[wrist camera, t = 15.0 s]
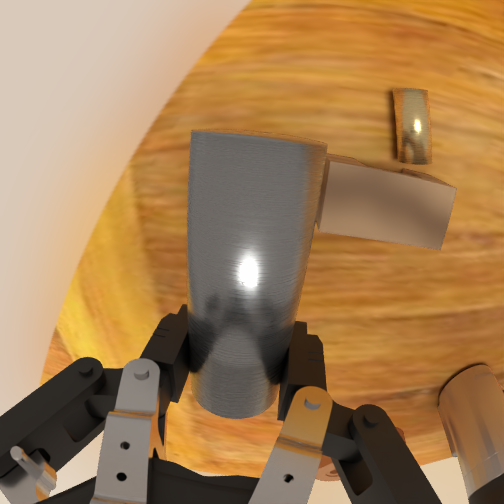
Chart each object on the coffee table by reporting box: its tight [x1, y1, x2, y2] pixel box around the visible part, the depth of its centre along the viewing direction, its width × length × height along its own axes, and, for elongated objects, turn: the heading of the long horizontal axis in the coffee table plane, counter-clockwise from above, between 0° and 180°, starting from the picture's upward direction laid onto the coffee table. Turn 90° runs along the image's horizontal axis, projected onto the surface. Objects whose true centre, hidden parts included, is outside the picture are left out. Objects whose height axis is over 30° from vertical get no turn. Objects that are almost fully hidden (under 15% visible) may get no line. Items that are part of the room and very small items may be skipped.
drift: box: [393, 89, 432, 165], centre depth 20 cm, size 6×3×3 cm, turn 8°
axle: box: [187, 129, 328, 419], centre depth 10 cm, size 10×4×4 cm, turn 174°
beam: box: [316, 154, 457, 250], centre depth 22 cm, size 5×10×5 cm, turn 85°
